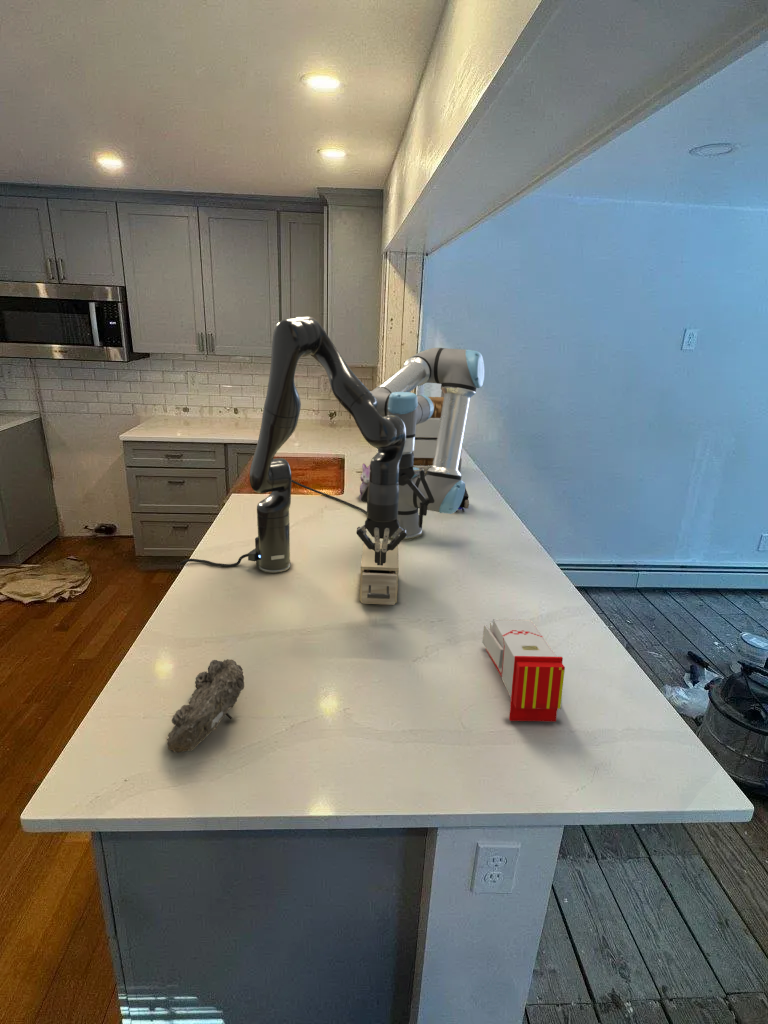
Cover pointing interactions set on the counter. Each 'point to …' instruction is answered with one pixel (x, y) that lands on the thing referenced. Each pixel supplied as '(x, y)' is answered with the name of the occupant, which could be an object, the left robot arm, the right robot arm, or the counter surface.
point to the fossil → (206, 705)
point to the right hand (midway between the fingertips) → (396, 525)
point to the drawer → (378, 587)
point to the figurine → (364, 478)
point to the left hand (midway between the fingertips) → (380, 564)
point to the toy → (526, 669)
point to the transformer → (429, 436)
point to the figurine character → (464, 502)
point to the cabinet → (370, 564)
